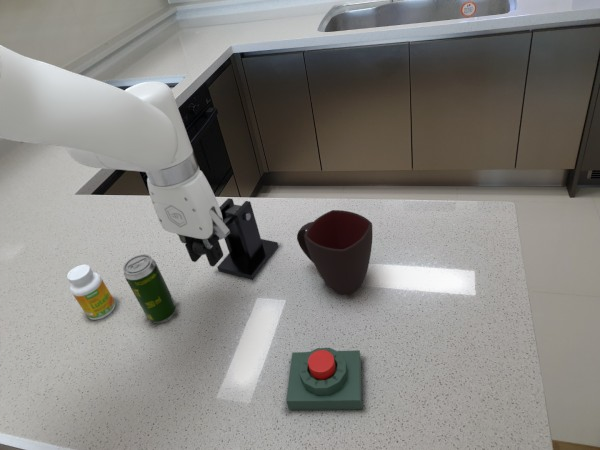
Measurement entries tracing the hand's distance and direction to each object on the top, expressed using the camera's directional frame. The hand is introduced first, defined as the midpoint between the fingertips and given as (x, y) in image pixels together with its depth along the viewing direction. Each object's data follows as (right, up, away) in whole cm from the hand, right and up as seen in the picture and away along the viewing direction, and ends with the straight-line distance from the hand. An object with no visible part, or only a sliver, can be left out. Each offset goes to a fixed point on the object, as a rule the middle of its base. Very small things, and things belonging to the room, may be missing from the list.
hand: (207, 258), depth 79 cm
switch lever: (+2, +4, +2) cm, 5 cm away
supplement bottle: (-21, -10, +7) cm, 25 cm away
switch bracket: (+6, -1, +12) cm, 13 cm away
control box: (+20, -17, -14) cm, 29 cm away
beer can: (-9, -10, +4) cm, 14 cm away
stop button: (+19, -14, -16) cm, 29 cm away
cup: (+23, -4, +3) cm, 23 cm away
